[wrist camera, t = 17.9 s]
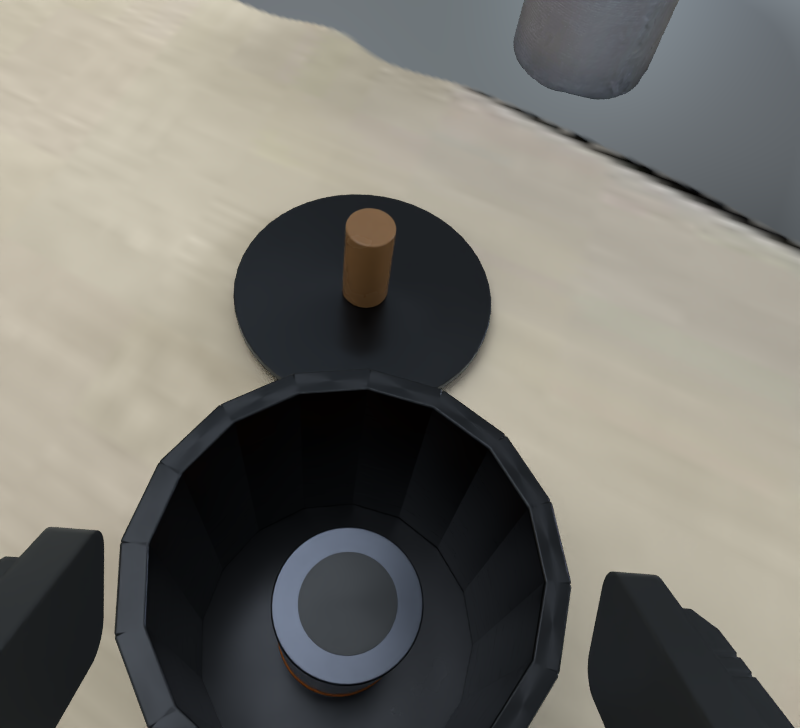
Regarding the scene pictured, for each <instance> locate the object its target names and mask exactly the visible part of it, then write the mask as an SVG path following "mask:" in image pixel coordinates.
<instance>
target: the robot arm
mask: <svg viewBox="0 0 800 728" xmlns="http://www.w3.org/2000/svg"><path fill="white" fill-rule="evenodd" d="M103 618H104V540H103V536H102V533H101V532H100V531H98V530H85V529H72V528H59V527H48V528H46V529H45V530H44V531H43V532H42V533H41V534H40V536H39V537H38V538H37V539H36V540H35V541H34V542H33V543H32V544H31V545H30V546H29V547H28V548H27V550H26V551H25V552H24V553H23V554H22V555H21V556H20V557H4V558H2V559H0V728H56V726H57V724H58V722H59V721H60V719H61V717H62V715H63V714H64V712H65V710H66V708H67V707H68V705H69V703H70V701H71V700H72V698H73V696H74V694H75V693H76V691H77V689H78V688H79V686H80V684H81V682H82V681H83V679H84V677H85V675H86V674H87V672H88V670H89V668H90V667H91V665H92V663H93V661H94V659H95V656H96V654H97V651H98V648H99V644H100V640H101V635H102V629H103ZM736 654H737V653H736V651H735V650H734V649H733V648H732V646H731V645H730V644H729V642H728V641H727V640H726V639H725V637H724V636H723V635H722V633H721V632H720V631H719V630H718V629H717V628H716V627H714V626H713V625H712V624H710V623H709V622H708V621H706V620H705V619H704V618H702V617H701V616H700V615H698V614H697V613H696V612H694V611H693V610H692V609H685V608H682V607H681V606H680V604H679V603H678V601H677V600H676V599H675V597H674V596H673V595H672V593H671V592H670V590H669V589H668V588H667V586H666V585H665V584H664V582H663V581H662V579H661V578H660V577H659V576H657V575H650V574H637V573H624V572H609V573H608V574H607V576H606V577H605V580H604V582H603V586H602V591H601V596H600V601H599V606H598V611H597V616H596V621H595V626H594V631H593V636H592V641H591V646H590V651H589V658H588V679H589V686H590V691H591V694H592V697H593V700H594V702H595V705H596V707H597V709H598V712H599V714H600V716H601V719H602V721H603V723H604V726H605V728H794V727H793V725H792V724H791V723H790V721H789V720H788V719H787V718H786V716H785V715H784V714H783V712H782V711H781V710H780V708H779V707H778V706H777V705H776V703H775V702H774V701H773V699H772V698H771V697H770V696H769V694H768V693H767V692H766V690H765V689H764V688H763V686H762V685H761V684H760V683H759V681H758V680H757V679H756V677H752V675H751V673H752V672H751V671H750V670H749V668H748V667H747V666H746V664H745V663H744V662H743V661H742V659H741V658H739V657H737V655H736Z"/></svg>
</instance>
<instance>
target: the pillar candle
mask: <svg viewBox="0 0 800 728" xmlns="http://www.w3.org/2000/svg"><path fill="white" fill-rule="evenodd" d="M678 1H679V0H524V3H523V7H522V11H521V15H520V18H519V22H518V25H517V29H516V33H515V37H514V51H515V55H516V57H517V60H518V62H519V63H520V65H521V66H522V68H523V69H525V71H526V72H527V73H528V74H529V75H530V76H531V77H532V78H533V79H536V80H537V81H538V82H539V83H540V84H542V85H543V86H545V87H547V88H550V89H553V90H555V91H562V92H566V93H570V94H574V95H578V96H582V97H587V98H591V99H610V98H613V97H617V96H619V95H623V94H625V93H627V92H629V91H630V90H631V89H633V88H634V87H635V86H636V85H637V84H638V82H639V81H640V79H641V77H642V76H643V74H644V73H645V72H646V70H647V69H648V66H649V64H650V62H651V60H652V58H653V55H654V53H655V52H656V49H657V47H658V44H659V42H660V40H661V37H662V35H663V33H664V31H665V29H666V27H667V25H668V23H669V20H670V18H671V16H672V14H673V11H674V9H675V7H676V5H677V3H678Z"/></svg>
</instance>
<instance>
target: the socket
mask: <svg viewBox="0 0 800 728" xmlns="http://www.w3.org/2000/svg"><path fill="white" fill-rule="evenodd" d="M423 610H424V603H423V592H422V587H421V583H420V579H419V577H418V574H417V572H416V569H415V568H414V566H413V564H412V562H411V561H410V559H409V558H408V557H407V555H406V554H405V553H404V552H403V551H402V550H401V549H400V547H399V546H397V545H396V544H395V543H394V542H392V541H391V540H390V539H388V538H386V537H385V536H383V535H381V534H379V533H377V532H374V531H372V530H368V529H365V528H359V527H338V528H333V529H328V530H325V531H322V532H320V533H317V534H315V535H314V536H312V537H310V538H308V539H307V540H305V541H304V542H302V543H301V544H300V545H299V546H298V547H297V548H296V549H294V550H293V552H292V553H291V554H290V555H289V556H288V557H287V559H286V560H285V562H284V563H283V565H282V566H281V568H280V571H279V573H278V575H277V577H276V580H275V583H274V586H273V591H272V595H271V620H272V625H273V629H274V632H275V636H276V639H277V641H278V646H279V650H280V653H281V657H282V659H283V661H284V664H285V666H286V668H287V669H288V671H289V672H290V674H291V675H292V676H293V677H294V679H295V680H296V681H297V682H299V683H300V684H301V685H302V686H303V687H305V688H306V689H308V690H309V691H312V692H314V693H316V694H319V695H322V696H326V697H347V696H352V695H355V694H358V693H360V692H362V691H365V690H366V689H368V688H369V687H371V686H373V685H374V684H375V683H376V682H378V681H379V680H380V679H381V678H382V677H383V676H385V675H386V674H387V673H389V672H390V671H392V670H393V669H394V668H395V667H396V666H398V665H399V664H400V663H401V661H402V660H403V659H404V658H405V657H406V656H407V654H408V653H409V651H410V650H411V648H412V647H413V645H414V643H415V641H416V639H417V636H418V634H419V631H420V628H421V623H422V619H423Z"/></svg>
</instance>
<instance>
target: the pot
mask: <svg viewBox="0 0 800 728" xmlns="http://www.w3.org/2000/svg"><path fill="white" fill-rule="evenodd" d="M338 527H359V528H365V529H368V530H372V531H374V532H377V533H379V534H381V535H383V536H385V537H386V538H388V539H390V540H391V541H392V542H394V543H395V544H396V545H397V546H399V547H400V549H401V550H402V551H403V552H404V553H405V554H406V555H407V557H408V558H409V559H410V561H411V562H412V564H413V566H414V568H415V569H416V572H417V574H418V577H419V579H420V583H421V587H422V592H423V603H424V610H423V619H422V623H421V628H420V631H419V634H418V636H417V639H416V641H415V643H414V645H413V647H412V648H411V650H410V651H409V653H408V654H407V656H406V657H405V658H404V659H403V660H402V661H401V663H400V664H399V665H398V666H396V667H395V668H394V669H393V670H392V671H390V672H389V673H387V674H386V675H385V676H383V677H382V678H381V679H380V680H379V681H378V682H376V683H375V684H374V685H373V686H371V687H369V688H368V689H366V690H365V691H362V692H360V693H358V694H355V695H352V696H347V697H326V696H322V695H319V694H316V693H314V692H312V691H309V690H308V689H306V688H305V687H303V686H302V685H301V684H300V683H299V682H297V681H296V680H295V679H294V677H293V676H292V675H291V674H290V672H289V671H288V669H287V668H286V666H285V664H284V661H283V659H282V657H281V653H280V650H279V646H278V641H277V639H276V636H275V632H274V629H273V625H272V620H271V595H272V591H273V586H274V583H275V580H276V577H277V575H278V573H279V571H280V568H281V566H282V565H283V563H284V562H285V560H286V559H287V557H288V556H289V555H290V554H291V553H292V552H293V550H294V549H296V548H297V547H298V546H299V545H300V544H301V543H302V542H304V541H305V540H307V539H308V538H310V537H312V536H314V535H315V534H317V533H320V532H322V531H325V530H328V529H333V528H338ZM121 542H122V543H121V544H120V555H119V571H118V586H117V602H116V617H115V640H116V643H117V645H118V648H119V651H120V653H121V656H122V659H123V662H124V664H125V667H126V670H127V673H128V675H129V678H130V681H131V683H132V686H133V689H134V692H135V694H136V697H137V700H138V703H139V705H140V708H141V711H142V713H143V716H144V719H145V722H146V724H147V727H148V728H528V727H529V725H530V723H531V722H532V720H533V718H534V717H535V715H536V713H537V712H538V710H539V708H540V707H541V705H542V703H543V702H544V700H545V698H546V697H547V695H548V693H549V691H550V690H551V688H552V686H553V685H554V683H555V681H556V680H557V678H558V674H559V672H560V665H561V657H562V650H563V643H564V636H565V629H566V622H567V614H568V607H569V600H570V593H571V585H570V584H571V580H570V576H569V572H568V568H567V564H566V559H565V555H564V551H563V547H562V543H561V539H560V535H559V531H558V526H557V522H556V518H555V514H554V510H553V506H552V503H551V502H550V499H549V497H548V496H547V494H546V493H545V492H544V490H543V489H542V487H541V486H540V484H539V483H538V481H537V480H536V478H535V477H534V475H533V474H532V473H531V471H530V470H529V468H528V467H527V465H526V464H525V462H524V461H523V459H522V458H521V456H520V455H519V453H518V452H517V451H516V449H515V448H514V446H513V445H512V443H511V442H510V440H509V439H508V437H506V436H505V434H504V433H503V432H501V431H500V430H498V429H497V428H496V427H494V426H493V425H491V424H490V423H489V422H487V421H486V420H484V419H483V418H482V417H480V416H479V415H477V414H476V413H475V412H473V411H472V410H470V409H469V408H468V407H466V406H465V405H463V404H462V403H461V402H459V401H458V400H456V399H455V398H454V397H452V396H451V395H449V394H448V393H447V392H445V391H442V390H441V389H439V388H435V387H432V386H428V385H425V384H421V383H418V382H414V381H411V380H407V379H404V378H400V377H397V376H394V375H390V374H387V373H383V372H380V371H376V370H373V369H353V370H337V371H321V372H304V373H294V374H291V375H288V376H286V377H284V378H281V379H279V380H277V381H274V382H272V383H270V384H267V385H265V386H263V387H260V388H258V389H256V390H253V391H251V392H249V393H246V394H244V395H242V396H239V397H237V398H235V399H232V400H230V401H227V402H225V403H223V404H221V406H220V405H219V406H218V407H217V408H216V409H215V410H214V411H213V412H212V413H210V414H209V415H208V416H207V417H206V418H205V419H204V420H203V421H202V422H201V423H200V424H199V425H198V426H197V427H196V428H195V429H193V430H192V431H191V432H190V433H189V434H188V435H187V436H186V437H185V438H184V439H183V440H182V441H181V442H180V443H179V444H178V445H176V446H175V447H174V448H173V449H172V450H171V451H170V452H169V453H168V454H167V455H166V456H165V457H164V458H163V459H162V460H161V461H160V463H158V465H157V467H156V469H155V471H154V473H153V475H152V477H151V479H150V482H149V484H148V486H147V488H146V490H145V492H144V494H143V496H142V498H141V500H140V502H139V504H138V506H137V508H136V510H135V513H134V515H133V517H132V519H131V521H130V523H129V525H128V527H127V529H126V531H125V533H124V535H123V537H122V539H121Z"/></svg>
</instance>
